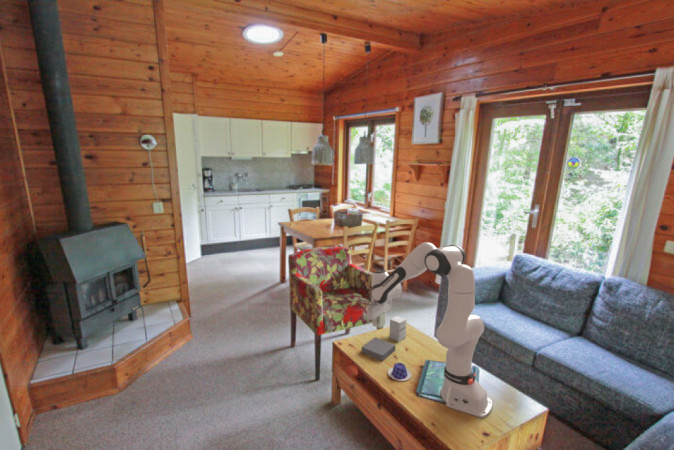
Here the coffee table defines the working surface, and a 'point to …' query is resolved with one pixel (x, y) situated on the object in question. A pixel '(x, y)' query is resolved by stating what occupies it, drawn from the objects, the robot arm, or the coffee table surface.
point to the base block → (378, 349)
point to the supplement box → (397, 328)
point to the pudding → (399, 372)
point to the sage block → (380, 321)
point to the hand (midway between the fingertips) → (379, 321)
